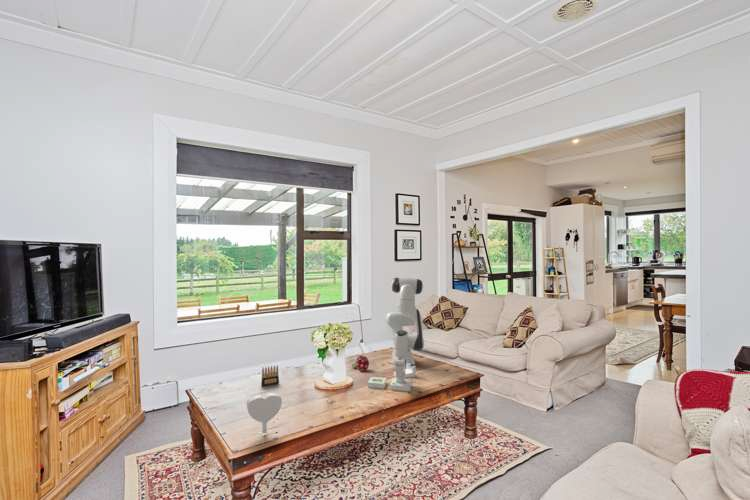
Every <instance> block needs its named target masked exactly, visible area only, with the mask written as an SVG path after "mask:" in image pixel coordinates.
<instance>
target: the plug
mask: <svg viewBox="0 0 750 500" xmlns="http://www.w3.org/2000/svg"><path fill="white" fill-rule="evenodd" d="M396 378H397V377H396ZM405 379H406V378H405V372H404V374H403V376H402V382H399V378H397V383H403V384H405Z"/></svg>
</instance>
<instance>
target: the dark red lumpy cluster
mask: <svg viewBox="0 0 750 500" xmlns="http://www.w3.org/2000/svg"><path fill="white" fill-rule="evenodd" d="M369 366H370V361H369V359H368V357H366V356H365V355H363V354H361V355H358V356H357V358H356V360H355V361H353V362H352V364H351V367H352V368H353V369H356V368H357V370H358V371H360V372H366V370H368V369H369Z"/></svg>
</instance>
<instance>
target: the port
mask: <svg viewBox="0 0 750 500" xmlns="http://www.w3.org/2000/svg"><path fill="white" fill-rule="evenodd" d="M412 383H413V382H412V378H410V379H409V378H405V384H403V383H397V377H392V379H391V382H390V384H389V390H390V391H399V392H407V393H408V394H410V393H411V390H412V387H413V386H412V385H413V384H412Z"/></svg>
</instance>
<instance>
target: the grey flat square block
mask: <svg viewBox="0 0 750 500" xmlns="http://www.w3.org/2000/svg"><path fill="white" fill-rule="evenodd" d="M386 385H387V377H378V376H377V377H376V376H370V377H369V380H368V382H367V388H370V389H381V390H384V389H385V387H386Z"/></svg>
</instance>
